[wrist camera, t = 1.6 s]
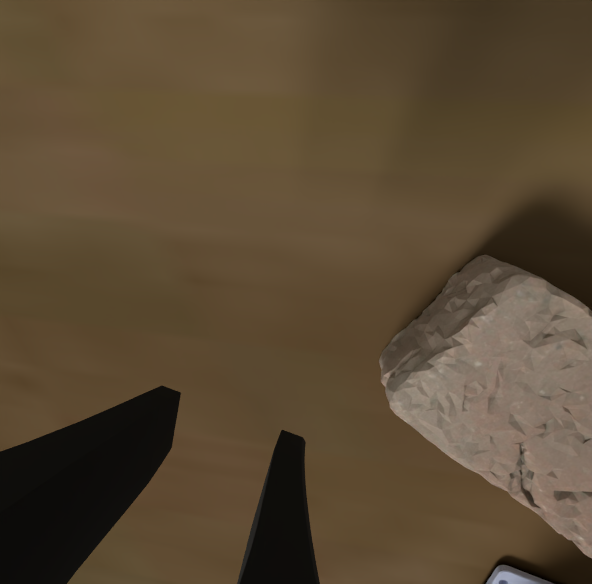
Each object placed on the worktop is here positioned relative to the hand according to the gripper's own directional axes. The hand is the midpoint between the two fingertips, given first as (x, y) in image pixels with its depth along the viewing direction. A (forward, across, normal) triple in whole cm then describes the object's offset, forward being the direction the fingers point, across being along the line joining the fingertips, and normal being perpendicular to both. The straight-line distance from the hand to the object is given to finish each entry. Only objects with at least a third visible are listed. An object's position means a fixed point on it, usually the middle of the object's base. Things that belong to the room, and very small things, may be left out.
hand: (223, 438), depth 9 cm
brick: (+10, -14, 0) cm, 17 cm away
